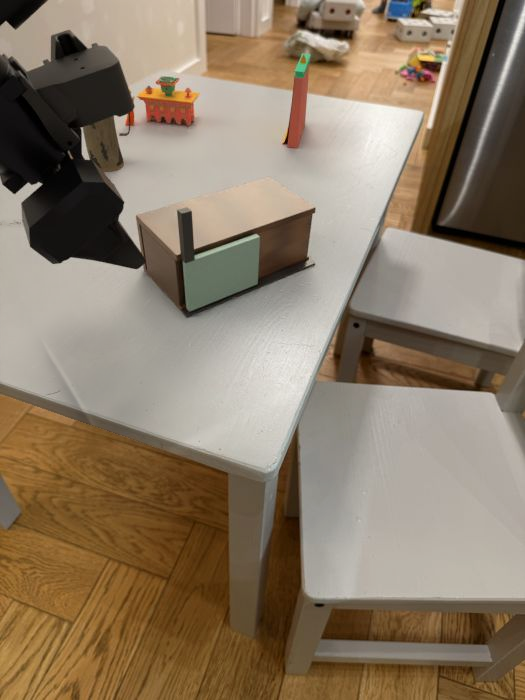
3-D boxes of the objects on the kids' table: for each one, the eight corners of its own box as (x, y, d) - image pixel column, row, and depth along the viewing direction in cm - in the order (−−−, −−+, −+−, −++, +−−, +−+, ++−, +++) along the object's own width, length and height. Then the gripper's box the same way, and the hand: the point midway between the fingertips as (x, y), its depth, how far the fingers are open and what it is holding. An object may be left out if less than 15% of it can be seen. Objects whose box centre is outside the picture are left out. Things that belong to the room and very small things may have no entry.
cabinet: (186, 317, 59) (182, 261, 53) (143, 270, 65) (135, 215, 60) (315, 264, 68) (322, 211, 62) (266, 227, 74) (269, 176, 68)
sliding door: (189, 312, 59) (181, 214, 50) (185, 308, 59) (176, 209, 50) (258, 284, 63) (263, 189, 54) (253, 280, 64) (257, 185, 55)
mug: (88, 171, 84) (72, 96, 76) (92, 157, 88) (77, 84, 80) (136, 171, 85) (125, 96, 77) (138, 157, 89) (128, 84, 80)
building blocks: (297, 148, 95) (305, 65, 85) (122, 127, 98) (109, 45, 88) (305, 123, 104) (312, 46, 94) (143, 105, 107) (134, 29, 97)
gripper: (93, 28, 24) (243, 229, 37) (33, -35, 36) (162, 134, 48) (-70, 176, 25) (129, 324, 38) (-78, 69, 37) (76, 208, 49)
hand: (125, 236), depth 43 cm, fingers open, 9 cm apart
